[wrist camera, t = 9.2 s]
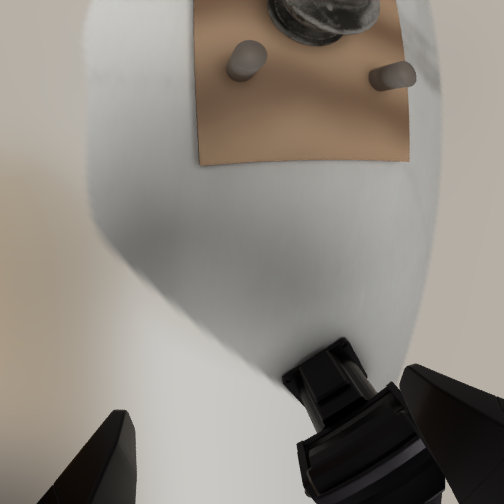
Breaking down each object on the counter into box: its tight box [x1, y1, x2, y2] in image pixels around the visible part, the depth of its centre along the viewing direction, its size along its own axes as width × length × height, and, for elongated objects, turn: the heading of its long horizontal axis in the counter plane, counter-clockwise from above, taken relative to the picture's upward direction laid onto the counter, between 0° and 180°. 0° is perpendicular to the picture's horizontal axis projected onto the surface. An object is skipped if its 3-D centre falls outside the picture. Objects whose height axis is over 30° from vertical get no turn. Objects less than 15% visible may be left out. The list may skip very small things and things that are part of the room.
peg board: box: [194, 0, 416, 166], centre depth 13 cm, size 20×14×4 cm
